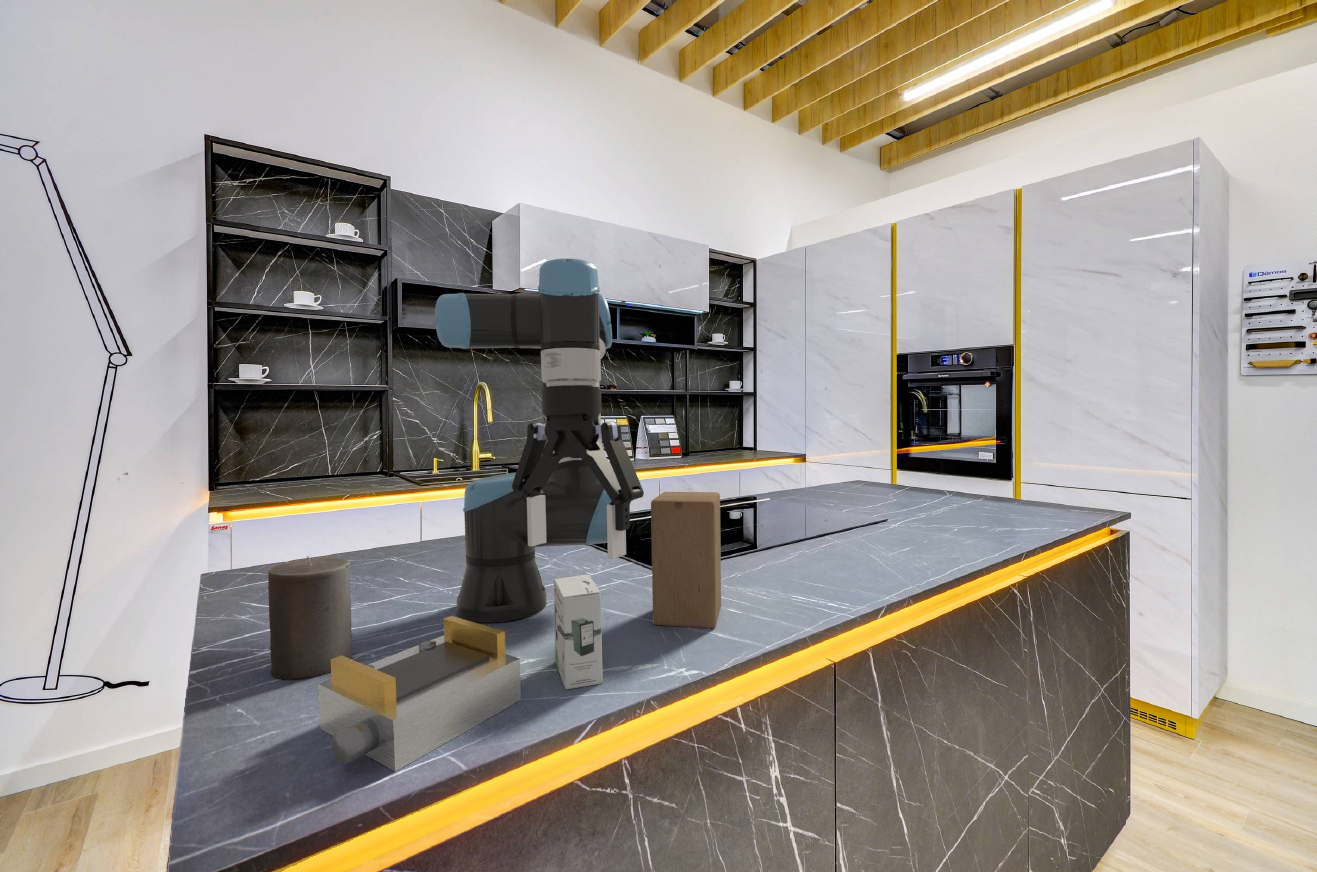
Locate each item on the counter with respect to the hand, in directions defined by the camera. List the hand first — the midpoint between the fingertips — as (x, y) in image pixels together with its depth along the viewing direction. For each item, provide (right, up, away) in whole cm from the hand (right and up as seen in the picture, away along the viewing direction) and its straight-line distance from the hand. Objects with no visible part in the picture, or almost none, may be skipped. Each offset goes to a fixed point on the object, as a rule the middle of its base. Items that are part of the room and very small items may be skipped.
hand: (575, 550), depth 74 cm
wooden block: (+16, -15, +21) cm, 30 cm away
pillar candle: (-37, -17, +5) cm, 41 cm away
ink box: (0, -16, +1) cm, 16 cm away
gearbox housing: (-17, -17, -10) cm, 26 cm away
